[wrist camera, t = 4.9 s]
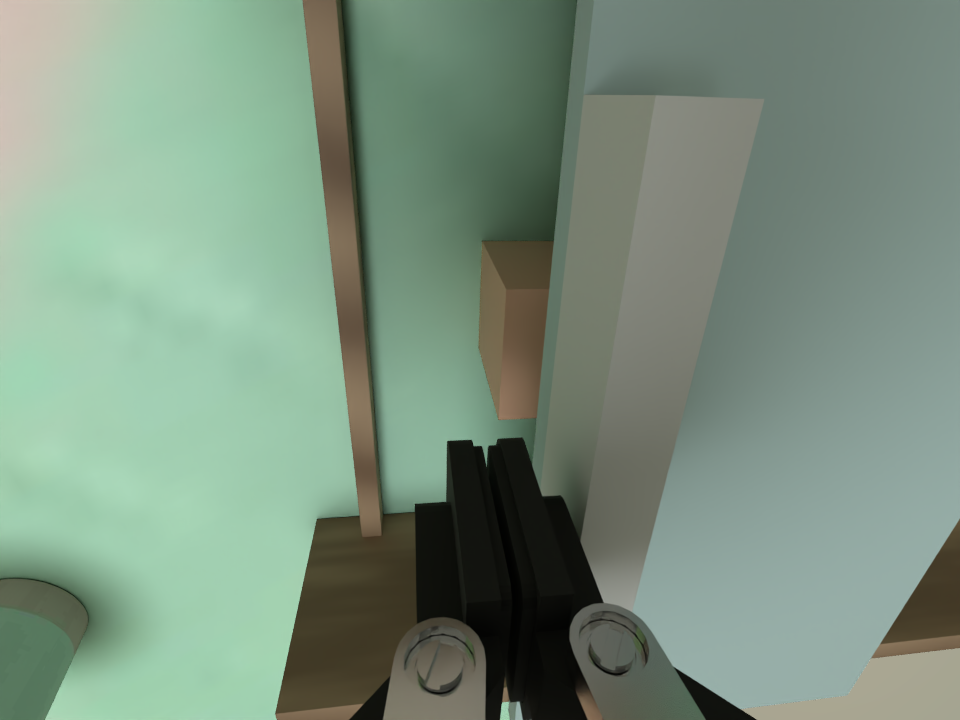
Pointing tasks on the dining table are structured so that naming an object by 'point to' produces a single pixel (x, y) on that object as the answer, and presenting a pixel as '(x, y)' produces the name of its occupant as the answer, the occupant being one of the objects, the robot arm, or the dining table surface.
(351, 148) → the wooden shelf frame
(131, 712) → the dining table surface
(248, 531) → the dining table surface
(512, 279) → the terracotta block
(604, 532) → the sliding cover
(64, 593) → the coffee cup
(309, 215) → the dining table surface
